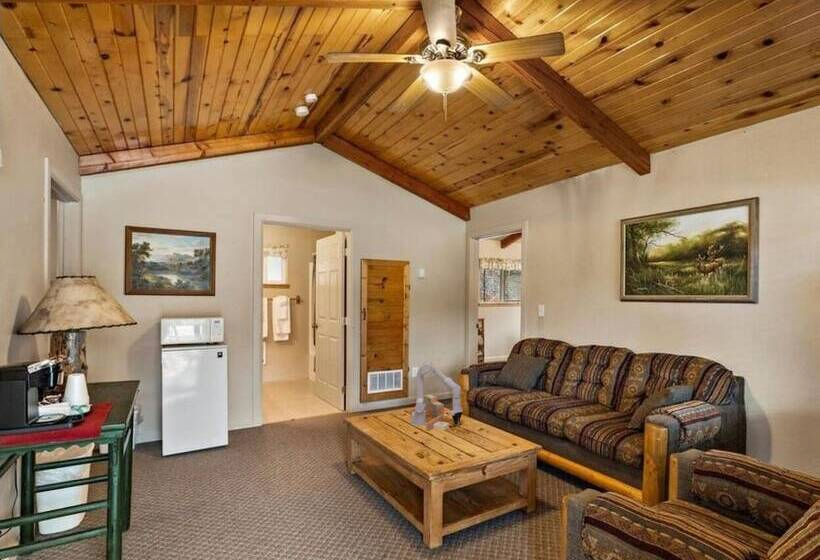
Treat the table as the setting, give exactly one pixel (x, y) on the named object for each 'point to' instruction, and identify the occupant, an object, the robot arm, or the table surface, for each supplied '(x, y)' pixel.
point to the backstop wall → (433, 422)
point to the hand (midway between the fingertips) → (456, 423)
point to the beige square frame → (441, 425)
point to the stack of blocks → (433, 405)
